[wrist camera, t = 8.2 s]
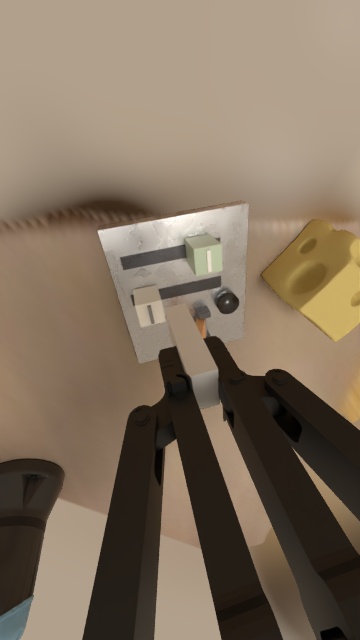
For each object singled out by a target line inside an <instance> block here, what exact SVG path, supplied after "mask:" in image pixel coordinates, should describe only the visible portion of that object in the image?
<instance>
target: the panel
mask: <svg viewBox="0 0 360 640" xmlns="http://www.w3.org/2000/svg"><path fill="white" fill-rule="evenodd" d="M248 206H249V205H248V203H246V202H243V201H237V202H231V203H226V204H220V205H215V206H209V207H203V208H198V209H192V210H187V211H181V212H176V213H170V214H165V215H159V216H153V217H148V218H142V219H137V220H131V221H126V222H120V223H114V224H109V225H103V226H99V227H98V230H97V231H98V234H99V237H100V240H101V244H102V247H103V250H104V253H105V256H106V260H107V263H108V266H109V269H110V272H111V275H112V279H113V282H114V285H115V288H116V291H117V294H118V298H119V301H120V304H121V307H122V310H123V314H124V317H125V320H126V323H127V326H128V329H129V333H130V336H131V339H132V342H133V345H134V349H135V352H136V355H137V358H138V361H139V364H140V363H144V362H148V361H152V360H156V359H159V358H158V355H159V352H160V350H161V349H165V348H169V347H173V345H172V342H171V339H170V334H169V329H168V324H167V319H166V313H165V308H166V307H170V306H175V305H179V304H183V303H185V304H186V306H187V308H188V310H189V312H190V314H191V316H192V318H193V320H194V322H196V317H197V316H198V317H199V319H200V320H201V319H205V318H206V325H207V336H206V338H208V337H212V336H217V337H218V338H220V339H221V340H222V342H223V343H225V342H229V341H234V340H238V339H242V338H243V330H244V305H245V280H246V255H247V231H248ZM206 234H210V235H212V236H213V237H214V238H215V239H216V240H218V241H219V242H220V243H221V244H222V271H219V272H214V273H209V274H205V275H200V276H196V275H195V274H194V272H193V271H192V269H191V268H190V267H189V265H188V264H187V256H186V247H185V238H191V237H196V236H201V235H206ZM154 285H157V287H158V291H159V294H160V297H161V300H162V305H163V310H164V315H165V321H166V322H162V323H158V324H154V325H149V326H145V327H141V326H140V322H139V319H138V315H137V311H136V308H135V302H134V294H133V290H135V289H140V288H144V287H149V286H154Z"/></svg>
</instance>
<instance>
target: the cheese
mask: <svg viewBox="0 0 360 640" xmlns="http://www.w3.org/2000/svg"><path fill="white" fill-rule="evenodd" d="M261 276H262V277H263V278H264V279H265V280H266V281H267V283H268V284H269V285H270V287H271V288H272V289H273V291H274V292H275V293H276V294H277V295H278V296H279V297H280V298H281V299H282V300H284V301H285V302H286V303H287V304H289V305H290V306H291V307H293V308H294V309H296V310H297V311H299V312H300V313H301V314H302V315H303V316H304V317H305V318H307V319H308V320H309V321H310V322H311V323H313V324H314V325H315V326H316V327H317V328H319V329H320V330H321V331H322V332H323V333H324V334H326V335H327V336H328V337H329V338H330V339H332V340H333V341H334V342H337V341H338V340H339V339H341V338H342V337H343V336H345V335H346V334H347V333H348V332H350V331H351V330H352V329H353V328H354V327H355V326H357V325H358V324H359V323H360V240H359V238H358V237H357V236H356V235H354V234H353V233H351V232H349V231H346V230H340V231H337V230H335V229H334V228H333V226H332V225H331V224H330V223H328V222H326V221H323V220H319V219H316V220H312V221H311V222H310V223H309V224H308V225H307V226H306V227H305V229H304V230H303V231H302V232H301V233H300V235H299V236H298V237H297V238H296V239H295V240H294V241H293V242H292V243H291V244H290V245H289V246H288V247H287V248H286V250H285V251H284V252H283V253H282V254H281V255H280V256H279V257H278V258H277V259H276V260H275V261H274V262H273V263H272V264H271V265H270V266H269V267H268V268H267V269H266V270H265V271H264V272H263V273H262V274H261Z"/></svg>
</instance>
